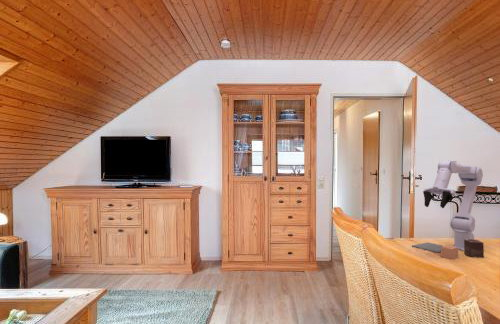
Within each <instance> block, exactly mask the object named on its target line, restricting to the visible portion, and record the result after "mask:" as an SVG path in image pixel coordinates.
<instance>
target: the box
mask: <svg viewBox="0 0 500 324" xmlns="http://www.w3.org/2000/svg"><path fill="white" fill-rule="evenodd" d="M484 245H485V244H484V242H483V241H481V240H479V239H474V240H472V239H464V250H463V251H464V255H466V256H468V257H470V258H484V255H485V253H484V251H485V249H484V247H485V246H484Z"/></svg>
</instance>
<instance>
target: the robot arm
mask: <svg viewBox="0 0 500 324" xmlns="http://www.w3.org/2000/svg"><path fill="white" fill-rule="evenodd" d="M436 173H437V174H436V178H435V179H434V184H433V186H432V187H428V188H423V190H422V193H423V197H424V198H423V199H424V206H425V207H426V208H428V207H430V206H429V205H430V203H431V201H432V200H433V198H434V194H435V195H440V196H441V201H440V204H439V206H440V208H441V209H444V208H445V207H446V206H447V204H448V203H449V202H450V201H451V200H453V199H454V196H455V195H456V193H457V192H456V190H455V189H453V188H452V189H451V188H448V186H449V183H450V181H451V177H452V174H457V176H458V178H459V180H460V182H461V184H462V185H464V186H465V187H464V191H463V194H462V199H461V204H460V207H459V211H458V212H456V213H454V214H453V215H452V218H451V219H450V220H449V226H450V228H451V229H452V231H453V235H454V236H453V239H454V241H453V242H454V245H452V246H453V247H457V248H458V250H461V251H464V239H472V240H475V235H474V233H473V232H474V231H475V230H476V229H475V228H476V219H475V217H474V216H473V215H472V214H471V213H472V208H473V204H474V200H475V197H476V192H477V188H478V186H479V185H481V183H482V180H483V176H484V174H483V173H484V172H483V170H482V168H481V167H478V166H475V165H470V164H469V165H467V164H466V165H465V164H464V165H463V164H461V163H460V162H457V160H445V161H444V160H443V161H440V162H438V163H437V171H436Z"/></svg>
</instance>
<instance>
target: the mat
mask: <svg viewBox="0 0 500 324" xmlns="http://www.w3.org/2000/svg"><path fill="white" fill-rule="evenodd" d="M412 246H413V247H412ZM442 246H443V245H440V244H436V243H432V242H424V243H423V242H422V243H418V244H413V245H411V247H412V248H416V249H420V250H424V251H428V252H432V253H436V254H441V247H442Z"/></svg>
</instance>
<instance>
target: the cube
mask: <svg viewBox="0 0 500 324" xmlns="http://www.w3.org/2000/svg"><path fill="white" fill-rule="evenodd" d="M453 246H454V245H448V244H447V245H442V247H441V252H440V257H441V258H445V259H449V260H456V259H459V249H458V248H457V247H453Z"/></svg>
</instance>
